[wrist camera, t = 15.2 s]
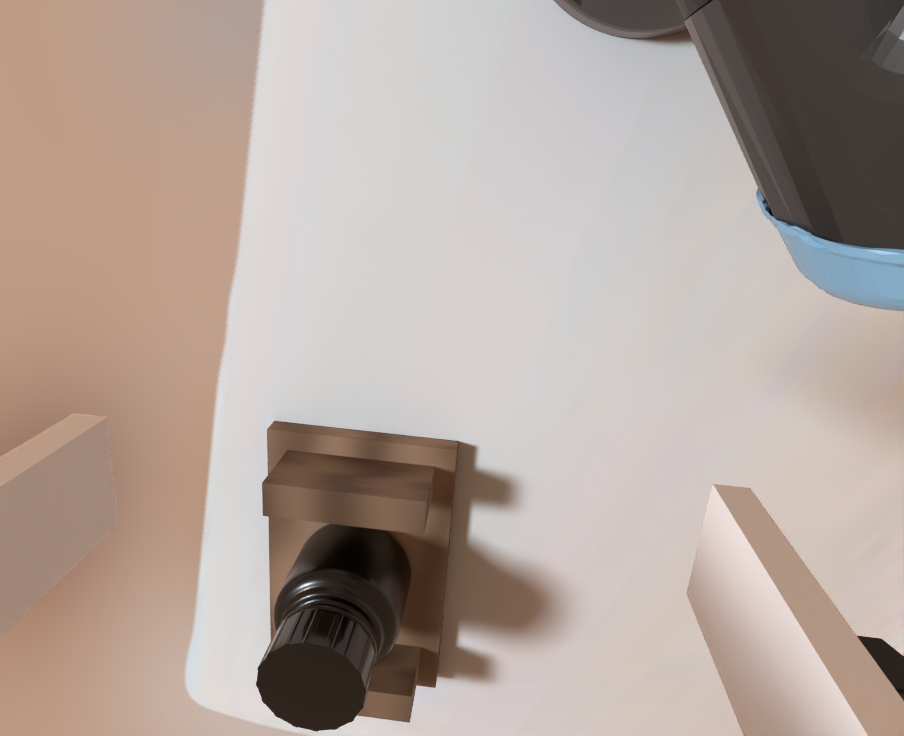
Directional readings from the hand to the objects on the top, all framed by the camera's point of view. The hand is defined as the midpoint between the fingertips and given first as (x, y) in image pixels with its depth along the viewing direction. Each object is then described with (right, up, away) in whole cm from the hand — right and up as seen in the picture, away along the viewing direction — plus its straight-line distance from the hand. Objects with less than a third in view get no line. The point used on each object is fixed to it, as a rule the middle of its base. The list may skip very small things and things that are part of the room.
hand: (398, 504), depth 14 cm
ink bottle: (-6, -13, +36) cm, 39 cm away
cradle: (-6, -12, +37) cm, 40 cm away
